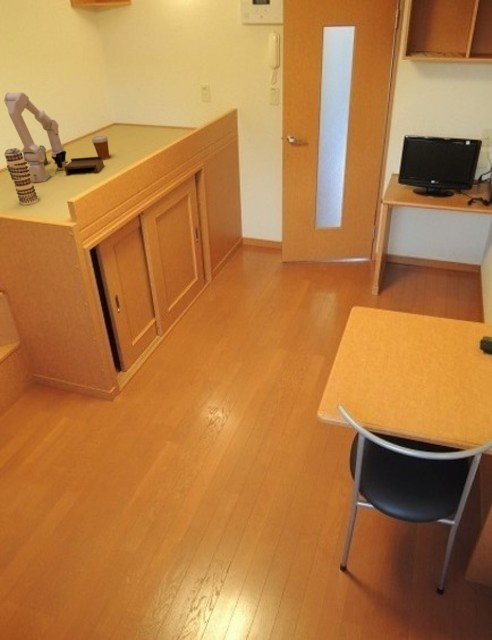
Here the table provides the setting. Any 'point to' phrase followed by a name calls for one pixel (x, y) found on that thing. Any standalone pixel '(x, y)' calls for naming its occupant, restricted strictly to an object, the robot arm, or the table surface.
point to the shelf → (85, 164)
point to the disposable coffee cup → (101, 146)
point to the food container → (44, 154)
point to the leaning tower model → (20, 176)
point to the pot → (62, 165)
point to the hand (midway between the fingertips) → (62, 166)
